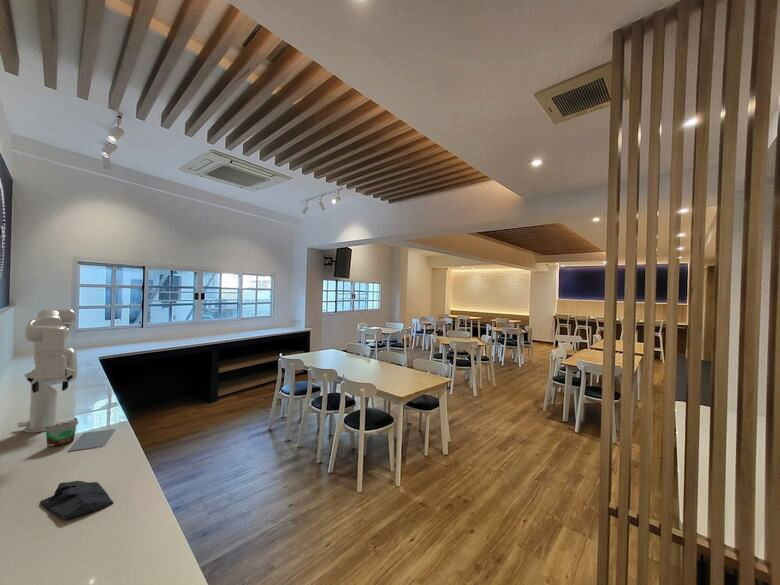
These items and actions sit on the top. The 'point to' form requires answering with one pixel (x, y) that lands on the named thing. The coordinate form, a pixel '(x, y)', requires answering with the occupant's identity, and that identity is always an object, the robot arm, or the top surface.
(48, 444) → the food container
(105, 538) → the top surface
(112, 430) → the rubber mat
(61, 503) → the dark slate chunk
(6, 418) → the top surface
